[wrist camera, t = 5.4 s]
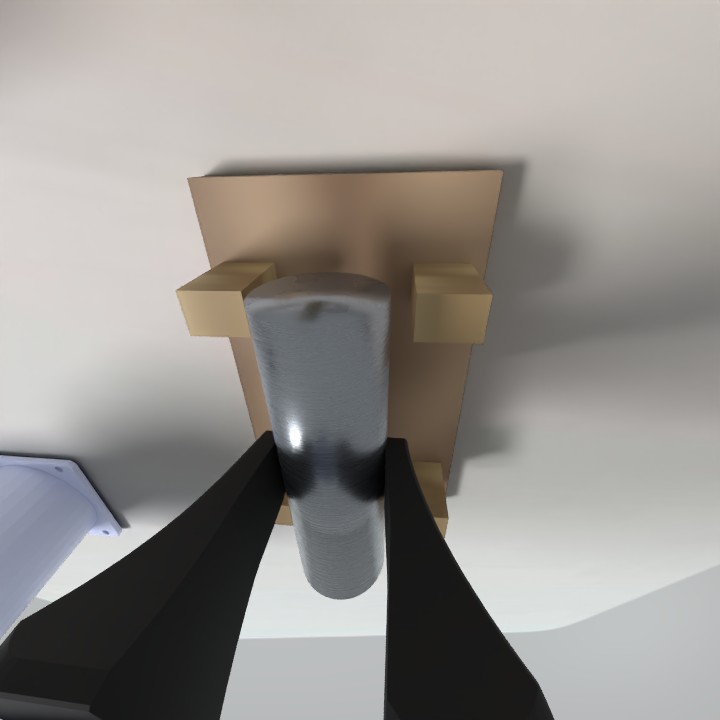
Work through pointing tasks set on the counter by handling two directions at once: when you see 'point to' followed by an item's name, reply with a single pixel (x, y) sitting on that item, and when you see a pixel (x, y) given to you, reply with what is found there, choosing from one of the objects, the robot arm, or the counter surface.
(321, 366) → the tube
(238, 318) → the stand
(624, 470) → the counter surface
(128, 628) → the robot arm
